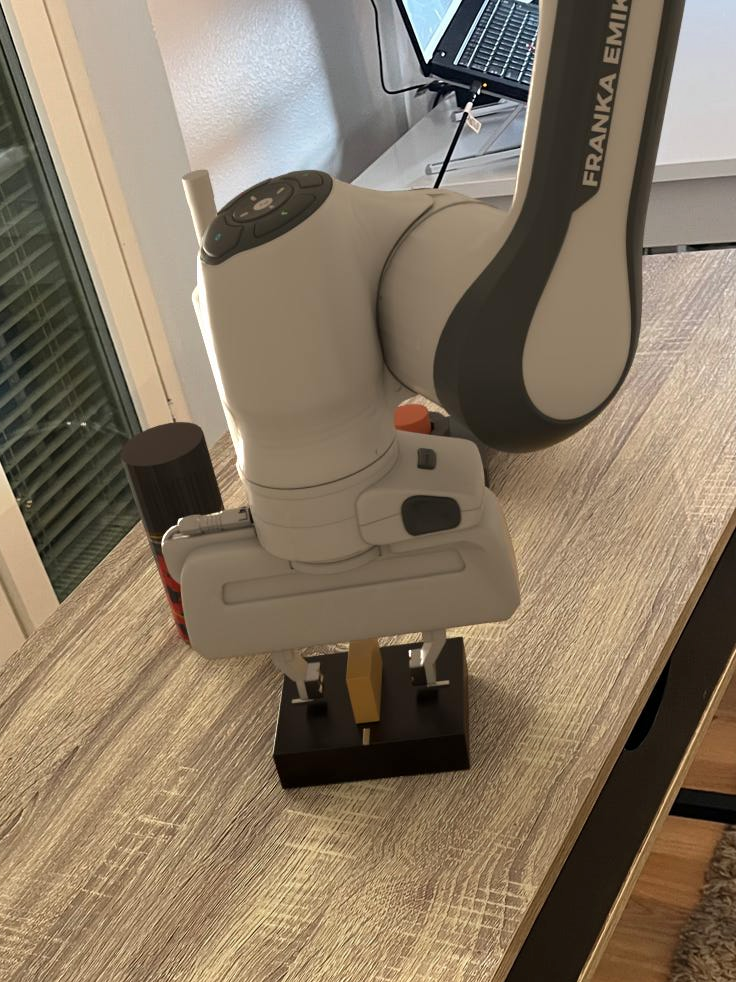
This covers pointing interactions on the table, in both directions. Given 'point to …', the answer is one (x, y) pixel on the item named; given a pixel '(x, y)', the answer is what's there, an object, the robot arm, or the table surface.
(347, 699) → the black flat block
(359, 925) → the table surface
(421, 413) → the bell button
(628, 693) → the table surface
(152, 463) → the deodorant
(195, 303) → the bottle
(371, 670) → the lock knob
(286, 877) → the table surface
